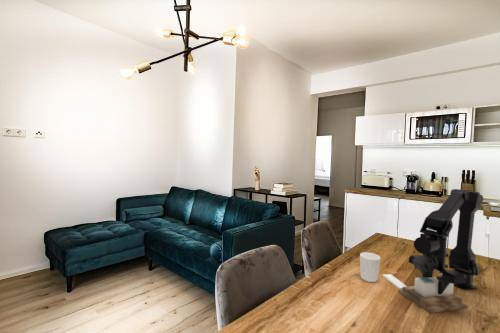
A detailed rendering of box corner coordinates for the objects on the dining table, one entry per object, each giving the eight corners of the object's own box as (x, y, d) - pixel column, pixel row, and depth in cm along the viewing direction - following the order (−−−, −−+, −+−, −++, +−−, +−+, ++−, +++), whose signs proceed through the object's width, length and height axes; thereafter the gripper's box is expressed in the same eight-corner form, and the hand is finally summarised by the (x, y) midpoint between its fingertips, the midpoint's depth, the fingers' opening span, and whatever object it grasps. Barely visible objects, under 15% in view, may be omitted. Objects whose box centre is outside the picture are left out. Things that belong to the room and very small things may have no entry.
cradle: (431, 288, 107) (431, 281, 107) (466, 308, 93) (467, 300, 93) (398, 291, 103) (398, 284, 103) (430, 313, 90) (430, 304, 90)
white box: (442, 289, 102) (443, 275, 101) (452, 295, 97) (453, 281, 97) (414, 290, 100) (415, 276, 100) (423, 297, 96) (424, 282, 95)
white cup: (367, 283, 109) (368, 260, 109) (355, 275, 117) (356, 253, 116) (383, 282, 111) (384, 258, 111) (370, 273, 119) (371, 251, 118)
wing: (390, 277, 117) (391, 274, 117) (409, 291, 106) (409, 288, 105) (382, 277, 117) (382, 274, 117) (399, 291, 105) (400, 288, 105)
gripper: (398, 242, 105) (396, 280, 106) (442, 260, 87) (439, 307, 88) (421, 240, 108) (419, 278, 108) (469, 258, 89) (465, 303, 90)
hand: (433, 290), depth 99 cm, fingers closed on white box, 5 cm apart
